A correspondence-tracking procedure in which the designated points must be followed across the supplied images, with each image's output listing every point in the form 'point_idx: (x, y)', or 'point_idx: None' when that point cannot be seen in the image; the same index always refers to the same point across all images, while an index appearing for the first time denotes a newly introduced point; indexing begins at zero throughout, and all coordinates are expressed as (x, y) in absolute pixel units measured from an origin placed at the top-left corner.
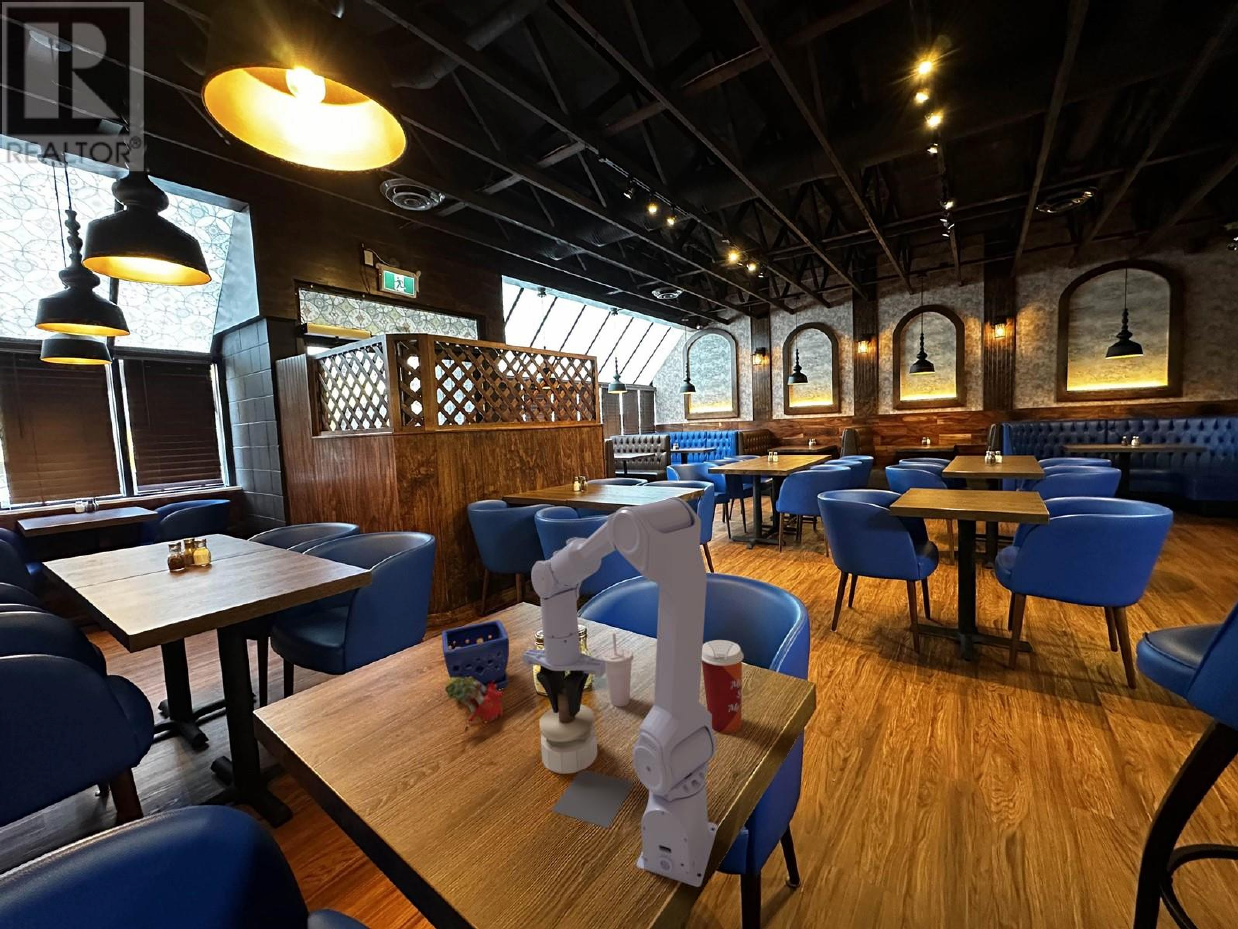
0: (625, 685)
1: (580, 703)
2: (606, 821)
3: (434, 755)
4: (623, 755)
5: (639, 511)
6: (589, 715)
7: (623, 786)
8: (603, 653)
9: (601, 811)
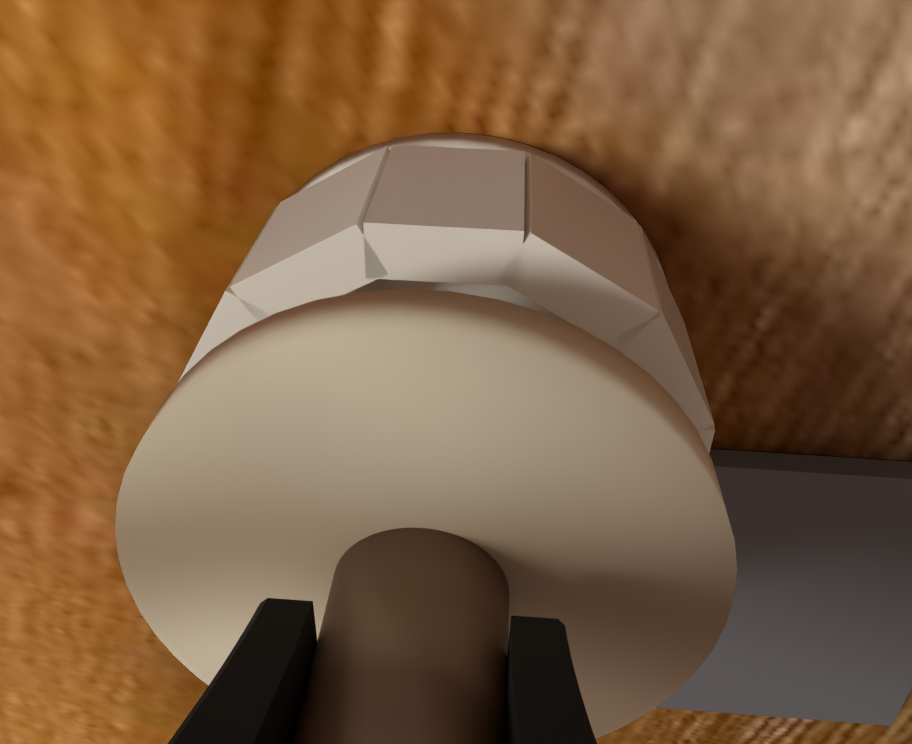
0: None
1: (580, 700)
2: (874, 703)
3: None
4: (896, 210)
5: None
6: (657, 508)
7: None
8: None
9: (835, 669)
